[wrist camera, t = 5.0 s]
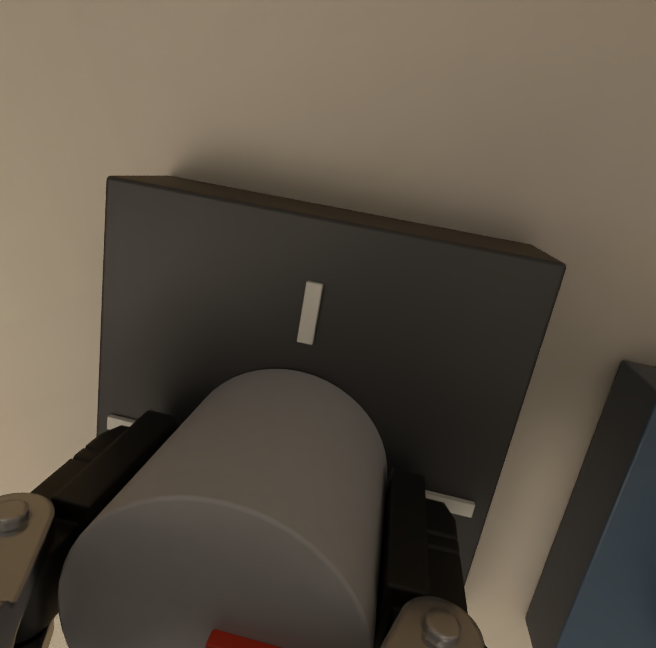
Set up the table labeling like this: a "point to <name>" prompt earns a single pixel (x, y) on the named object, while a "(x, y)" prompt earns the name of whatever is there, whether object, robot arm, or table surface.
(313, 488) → the knob
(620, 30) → the table surface
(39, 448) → the table surface
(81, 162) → the table surface
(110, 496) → the robot arm
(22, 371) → the table surface
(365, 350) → the dial panel
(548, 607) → the switch block
